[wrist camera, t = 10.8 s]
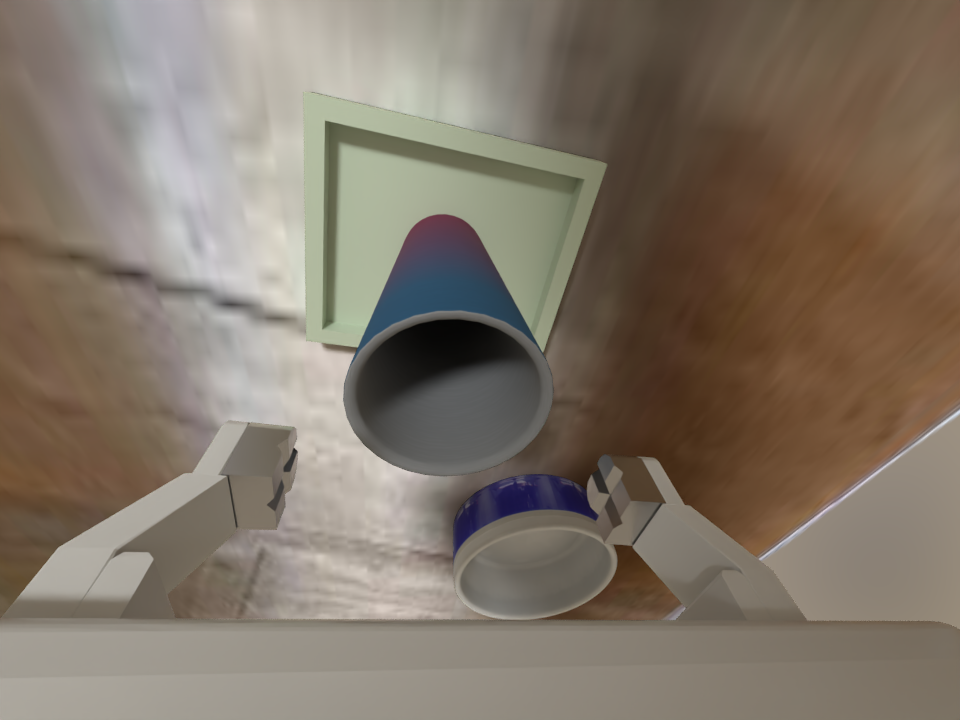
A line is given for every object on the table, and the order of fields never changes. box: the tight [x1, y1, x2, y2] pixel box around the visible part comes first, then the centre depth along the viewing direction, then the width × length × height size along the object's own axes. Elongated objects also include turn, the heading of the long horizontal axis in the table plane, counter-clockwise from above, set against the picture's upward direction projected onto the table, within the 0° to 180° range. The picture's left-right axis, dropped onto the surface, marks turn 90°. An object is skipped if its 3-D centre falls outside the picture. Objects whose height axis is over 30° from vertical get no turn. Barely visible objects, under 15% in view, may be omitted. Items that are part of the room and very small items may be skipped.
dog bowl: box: [453, 474, 617, 620], centre depth 40 cm, size 15×15×6 cm
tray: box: [303, 92, 607, 353], centre depth 26 cm, size 14×16×2 cm
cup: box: [343, 214, 554, 476], centre depth 20 cm, size 7×7×15 cm
